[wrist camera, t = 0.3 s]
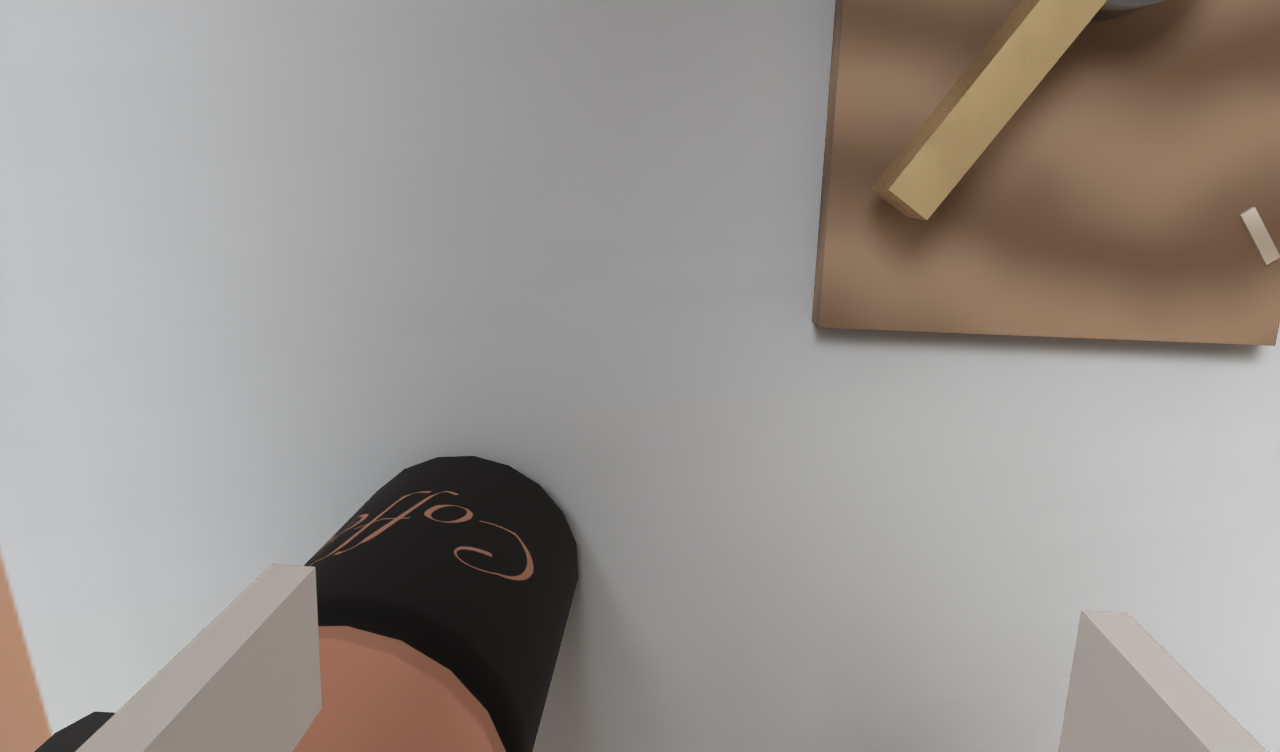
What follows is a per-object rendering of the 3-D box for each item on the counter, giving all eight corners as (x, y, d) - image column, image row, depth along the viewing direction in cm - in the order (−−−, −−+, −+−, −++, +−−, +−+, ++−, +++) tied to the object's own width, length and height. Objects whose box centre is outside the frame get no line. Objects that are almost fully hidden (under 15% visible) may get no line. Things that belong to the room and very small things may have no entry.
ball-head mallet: (1097, -219, 33) (1163, -284, 28) (1236, -98, 34) (1324, -142, 29) (812, 149, 36) (831, 144, 32) (945, 253, 37) (982, 263, 32)
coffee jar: (591, 461, 42) (526, 661, 24) (571, 665, 44) (497, 982, 27) (368, 434, 42) (143, 615, 25) (359, 639, 45) (148, 937, 27)
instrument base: (857, -286, 35) (885, -362, 30) (1357, -280, 34) (1469, -357, 29) (811, 320, 40) (829, 339, 35) (1245, 337, 39) (1325, 359, 34)
